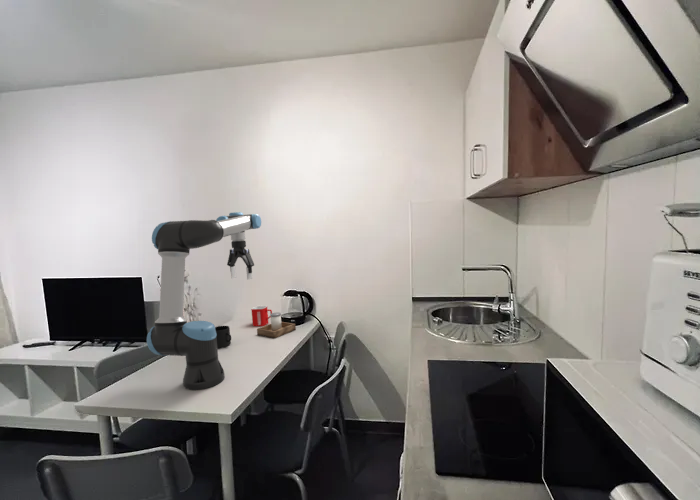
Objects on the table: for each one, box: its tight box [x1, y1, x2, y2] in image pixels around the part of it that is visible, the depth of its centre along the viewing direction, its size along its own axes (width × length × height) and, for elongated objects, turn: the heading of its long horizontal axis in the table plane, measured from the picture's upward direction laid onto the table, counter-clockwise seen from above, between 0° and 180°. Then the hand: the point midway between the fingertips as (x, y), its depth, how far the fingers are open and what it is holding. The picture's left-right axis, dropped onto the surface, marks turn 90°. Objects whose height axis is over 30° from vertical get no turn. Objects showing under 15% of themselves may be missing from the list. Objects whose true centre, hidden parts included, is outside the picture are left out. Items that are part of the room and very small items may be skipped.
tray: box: [256, 321, 297, 339], centre depth 198 cm, size 16×14×4 cm
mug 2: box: [250, 305, 273, 327], centre depth 215 cm, size 12×8×11 cm
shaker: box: [269, 312, 282, 331], centre depth 197 cm, size 6×6×10 cm
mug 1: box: [215, 325, 232, 349], centre depth 180 cm, size 9×12×9 cm
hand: (241, 278), depth 195 cm, fingers open, 13 cm apart
